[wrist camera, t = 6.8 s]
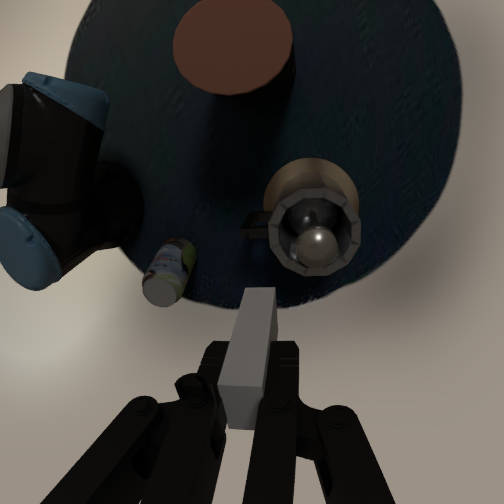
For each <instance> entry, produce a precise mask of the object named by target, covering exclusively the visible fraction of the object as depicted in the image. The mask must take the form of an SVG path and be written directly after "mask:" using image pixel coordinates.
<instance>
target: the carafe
mask: <svg viewBox="0 0 504 504" xmlns="http://www.w3.org/2000/svg"><path fill="white" fill-rule="evenodd" d="M303 198H326V199H328V200H330V201H331V202H333V203H335V204H336V207H337V220H336V223H335V225H334V227H333V228H332V229H331V231H332V232H333V234H334V235H335V238H336V241H337V246H338V251H337V255H336V257H335V259H334V260H333V261H332V262H331V263H330V264H329V265H327V266H325V267H322V268H311V267H308V266H306V265H304V264H303V263H302V262H301V261H300V260H299V258H298V256H297V253H296V241H297V237H298V235H299V234H298V233H297V232H296V231H295V230H294V229H293V228H292V226H291V225H290V222H289V219H288V208H289V207H291V206H292V205H294V204H295V203H297V202H299V201H300V200H302V199H303ZM264 221H269V223H268V225H262V226H255V225H256V223H257V222H264ZM240 237H241V239H259V238H269V240H270V248H271V249H272V251H273V252H274V254H275V255H276V256H277V258H278V259H279V261H280V262H281V263H282V265H283V266H284V267H286V268H288V269H290V270H292V271H294V272H297V273H299V274H301V275H303V276H328V275H329V274H331V273H333V272H335V271H337V270H338V269H340V268H342V267H344V266H346V265H347V264H348V263H349V262H350V260H351V259H352V257H353V255H354V254H355V252H356V251H357V249H358V247H359V246H360V237H361V220H360V219H359V217H358V215H357V214H356V212H355V210H354V208H353V207H352V205H351V203H350V202H349V200H348V198H347V197H346V195H345V194H344V192H343V191H342V189H341V187H340V186H339V184H338V183H337V181H336V180H334V179H332V178H330V177H328V176H326V175H324V174H322V173H321V172H303V173H299V174H297V175H296V176H294V177H293V178H291V179H290V180H288V181H286V182H285V183H284V185H283V187H282V189H281V191H280V193H279V195H278V197H277V199H276V202H275V205H274V208H273V210H270V211H251V212H249V214H248V216H247V217H246V219H245V221H244V223H243V224H242V226H241V228H240Z"/></svg>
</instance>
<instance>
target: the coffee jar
mask: <svg viewBox="0 0 504 504" xmlns="http://www.w3.org/2000/svg"><path fill="white" fill-rule="evenodd" d="M173 53H174V61H175V62H176V64H177V66H178V68H179V70H180V72H181V74H182V75H183V76H184V77H185V78H186V79H187V80H188V81H189V82H190V83H191V84H192V85H193V86H195V87H197V88H199V89H202V90H204V91H206V92H208V93H212V94H214V95H216V96H219V97H222V98H224V99H227V100H230V101H233V102H235V103H238V104H241V105H243V106H249V107H263V106H269V105H271V104H273V103H276V102H278V101H279V100H281V99H282V98H283V97H284V96H285V95H286V94H288V92H289V90H290V89H291V87H292V85H293V84H294V79H295V75H296V67H295V54H294V44H293V36H292V30H291V24H290V22H289V20H288V19H287V17H286V15H285V14H284V12H283V10H282V9H281V8H280V7H279V6H277V5H276V4H275V3H274V2H272V1H271V0H202V1H200V2H198V3H197V4H196V5H195V6H193V7H192V8H191V9H190V10H189V11H188V12H187V13H186V14H185V15H184V17H183V18H182V20H181V22H180V23H179V25H178V27H177V28H176V32H175V36H174V40H173Z"/></svg>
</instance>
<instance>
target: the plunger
mask: <svg viewBox="0 0 504 504" xmlns="http://www.w3.org/2000/svg"><path fill="white" fill-rule="evenodd" d="M288 219H289V222H290V225H291V226H292V228H293V229H294V230H295V231H296V232H297V233H298V234H299V235H298V237H297V241H296V253H297V256H298V258H299V260H300V261H301V262H302V263H303V264H304V265H306V266H308V267H311V268H322V267H325V266H327V265H329V264H330V263H331V262H332V261H333V260H334V259H335V257H336V255H337V251H338V246H337V241H336V238H335V235H334V234H333V232H332V231H331V229H332V228H333V227H334V225H335V223H336V220H337V207H336V204H335V203H333V202H331V201H330V200H328V199H326V198H303V199H302V200H300V201H299V202H297V203H295V204H294V205H292V206H291V207H289V208H288Z"/></svg>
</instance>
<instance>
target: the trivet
mask: <svg viewBox="0 0 504 504" xmlns="http://www.w3.org/2000/svg"><path fill="white" fill-rule="evenodd" d="M303 172H321V173H322V174H324V175H326V176H328V177H330V178H332V179H334V180H336V181H337V183H338V184H339V186H340V187H341V189H342V191H343V192H344V194H345V195H346V197H347V198H348V200H349V202H350V203H351V205H352V207H353V208H354V210H355V212H356V214H357V215H358V212H359V198H358V193H357V190H356V187H355V185H354V183H353V181H352V180H351V179H350V177H349V176H348V175H347V174H346V173H345V171H343V170H342V169H341V168H340V167H338V166H337V165H335V164H334V163H331V162H329V161H327V160H323V159H319V158H302V159H298V160H295V161H292V162H290V163H288V164H286V165H285V166H283V167H282V168H281V169H279V170H278V171H277V172H276V173H275V175H274V176H273V177H272V178H271V180H270V182H269V184H268V186H267V188H266V191H265V195H264V202H263V206H264V211H270V210H273V208H274V205H275V202H276V199H277V197H278V195H279V193H280V191H281V189H282V187H283V185H284V183H285V182H286V181H288V180H290V179H291V178H293V177H294V176H296V175H297V174H299V173H303ZM267 223H269V221H267Z"/></svg>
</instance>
